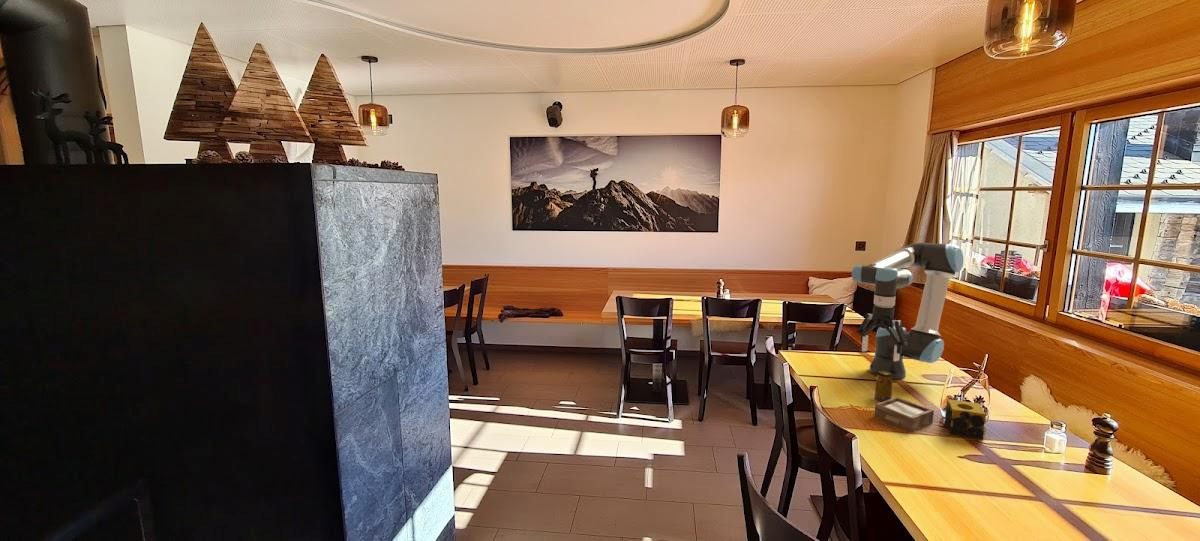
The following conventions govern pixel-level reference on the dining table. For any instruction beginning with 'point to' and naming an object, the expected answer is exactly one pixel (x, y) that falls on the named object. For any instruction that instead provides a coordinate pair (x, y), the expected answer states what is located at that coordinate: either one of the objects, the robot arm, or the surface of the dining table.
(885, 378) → the condiment
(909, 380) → the dining table surface
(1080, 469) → the dining table surface
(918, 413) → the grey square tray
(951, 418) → the yellow black cube
